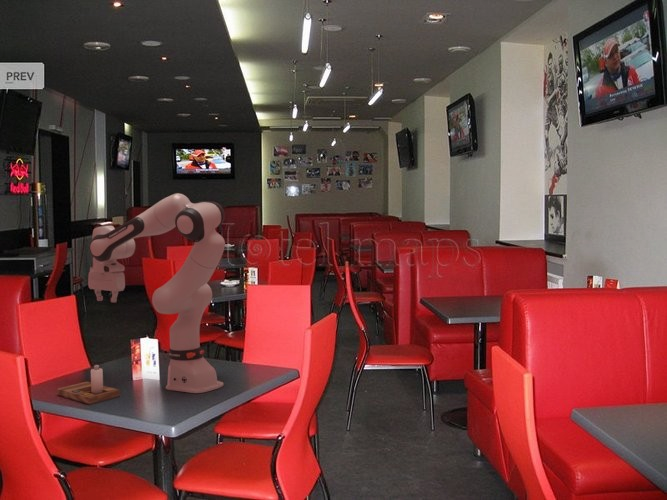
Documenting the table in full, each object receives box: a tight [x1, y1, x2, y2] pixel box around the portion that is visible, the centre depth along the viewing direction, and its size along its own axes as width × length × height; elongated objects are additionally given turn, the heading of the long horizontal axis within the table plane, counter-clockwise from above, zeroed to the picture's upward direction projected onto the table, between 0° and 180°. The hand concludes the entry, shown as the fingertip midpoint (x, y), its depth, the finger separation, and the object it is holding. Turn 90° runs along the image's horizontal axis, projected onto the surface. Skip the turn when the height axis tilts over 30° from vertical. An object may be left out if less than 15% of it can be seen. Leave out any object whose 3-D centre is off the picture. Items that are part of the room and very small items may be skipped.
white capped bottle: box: [90, 364, 104, 395], centre depth 237 cm, size 4×4×12 cm
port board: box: [56, 381, 121, 406], centre depth 242 cm, size 21×12×3 cm, turn 52°
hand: (106, 301), depth 264 cm, fingers open, 8 cm apart
